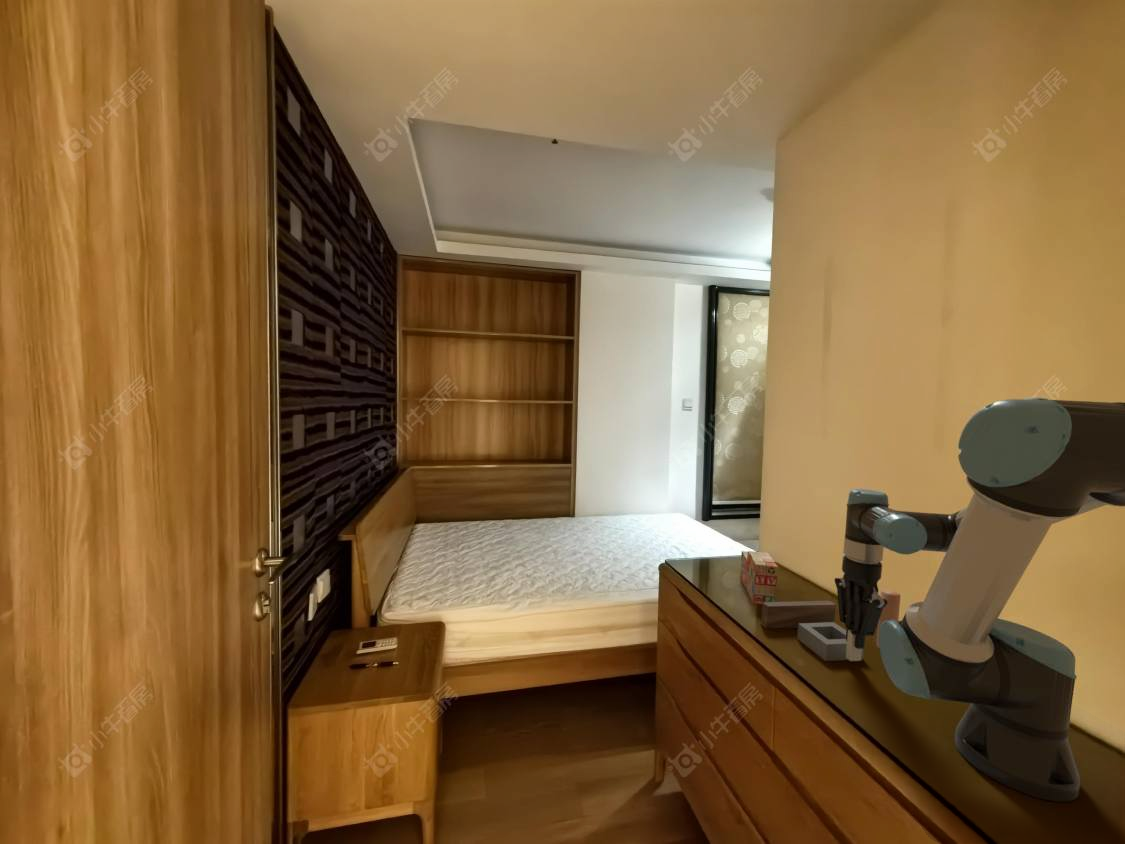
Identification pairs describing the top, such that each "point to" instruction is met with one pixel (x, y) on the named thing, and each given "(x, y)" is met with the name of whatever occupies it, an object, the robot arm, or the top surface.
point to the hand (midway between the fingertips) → (853, 658)
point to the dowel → (889, 609)
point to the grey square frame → (824, 640)
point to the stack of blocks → (759, 576)
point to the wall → (796, 613)
